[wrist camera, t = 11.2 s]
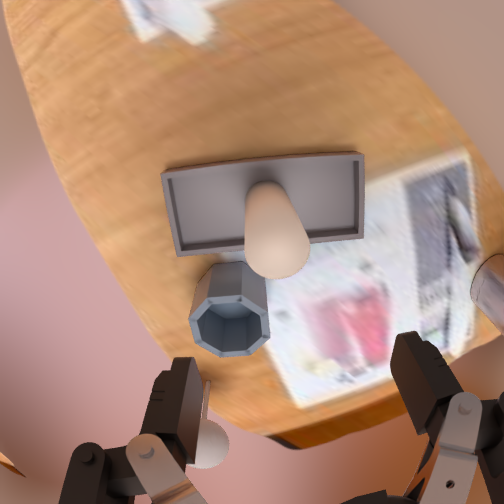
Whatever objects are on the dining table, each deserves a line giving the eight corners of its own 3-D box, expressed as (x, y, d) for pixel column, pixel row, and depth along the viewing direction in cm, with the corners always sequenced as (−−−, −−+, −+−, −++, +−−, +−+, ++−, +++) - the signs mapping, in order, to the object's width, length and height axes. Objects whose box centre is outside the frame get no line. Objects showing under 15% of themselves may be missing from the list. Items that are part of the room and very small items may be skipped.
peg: (286, 178, 30) (309, 215, 20) (289, 219, 32) (310, 275, 21) (243, 182, 31) (240, 222, 20) (247, 223, 32) (248, 282, 22)
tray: (355, 151, 30) (364, 154, 28) (356, 229, 34) (363, 238, 32) (166, 169, 31) (160, 174, 29) (181, 247, 35) (177, 257, 32)
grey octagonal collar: (262, 259, 35) (266, 292, 29) (268, 315, 39) (271, 353, 32) (193, 266, 36) (183, 299, 29) (206, 320, 39) (199, 358, 33)
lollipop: (179, 368, 43) (161, 453, 29) (225, 364, 42) (219, 453, 29) (193, 397, 46) (182, 476, 32) (236, 393, 45) (234, 475, 32)
